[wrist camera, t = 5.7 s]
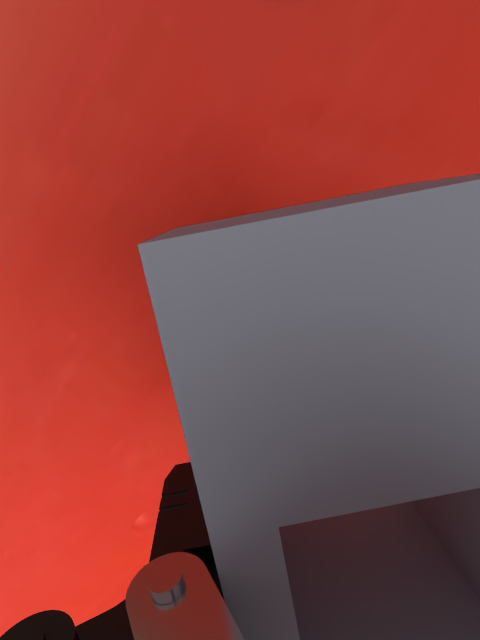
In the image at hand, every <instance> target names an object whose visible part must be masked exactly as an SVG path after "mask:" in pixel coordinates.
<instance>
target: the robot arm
mask: <svg viewBox="0 0 480 640" xmlns="http://www.w3.org/2000/svg"><path fill="white" fill-rule="evenodd" d="M159 509H160V512H159V513H158V518H157V524H156V529H155V534H154V540H153V545H152V550H151V556H150V561H149V563H148V564H147V565H145V566H144V567H143V568H142V569H141V570H140V571H139V572H138V573H137V574H136V575H135V577H134V578H133V580H132V581H131V583H130V585H129V587H128V590H127V594H126V599H125V600H124V601H122V602H121V603H120V604H118V605H117V606H115V607H113V608H112V609H110V610H108V611H106V612H104V613H102V614H100V615H98V616H96V617H94V618H92V619H90V620H88V621H86V622H84V623H82V624H80V625H78V626H76V627H75V625H74V623H73V620H72V618H71V617H70V616H69V615H68V614H66V613H65V612H62V611H59V610H48V611H43V612H39V613H36V614H34V615H31V616H29V617H27V618H25V619H23V620H22V621H20V622H19V623H17V624H16V625H14V626H13V627H12V628H10V629H9V630H8V631H7V632H6V633H4V634H3V635H2V636H1V637H0V640H245V639H244V637H243V635H242V633H241V631H240V630H239V628H238V626H237V624H236V622H235V620H234V618H233V616H232V615H231V613H230V611H229V609H228V607H227V605H226V603H225V600H224V596H223V592H222V588H221V584H220V580H219V576H218V572H217V568H216V564H215V560H214V555H213V551H212V547H211V543H210V539H209V535H208V531H207V527H206V523H205V519H204V515H203V511H202V506H201V502H200V498H199V494H198V490H197V486H196V482H195V478H194V474H193V470H192V466H191V462H188V463H183V464H178V465H175V466H174V468H173V469H172V470H171V472H170V473H169V475H168V476H167V477H166V479H165V481H164V486H163V492H162V498H161V502H160V508H159Z"/></svg>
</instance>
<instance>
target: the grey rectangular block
mask: <svg viewBox="0 0 480 640" xmlns="http://www.w3.org/2000/svg"><path fill="white" fill-rule="evenodd" d="M137 245H138V249H139V253H140V257H141V261H142V265H143V269H144V273H145V277H146V282H147V286H148V290H149V294H150V298H151V302H152V306H153V310H154V314H155V318H156V322H157V327H158V331H159V335H160V339H161V343H162V347H163V351H164V355H165V359H166V363H167V367H168V371H169V376H170V380H171V384H172V388H173V392H174V396H175V400H176V404H177V408H178V412H179V416H180V421H181V425H182V429H183V433H184V437H185V441H186V445H187V449H188V453H189V457H190V461H191V466H192V470H193V474H194V478H195V482H196V486H197V490H198V494H199V498H200V502H201V506H202V511H203V515H204V519H205V523H206V527H207V531H208V535H209V539H210V543H211V547H212V551H213V555H214V560H215V564H216V568H217V572H218V576H219V580H220V584H221V588H222V592H223V596H224V600H225V603H226V605H227V607H228V609H229V611H230V613H231V615H232V616H233V618H234V620H235V622H236V624H237V626H238V628H239V630H240V631H241V633H242V635H243V637H244V639H245V640H480V174H474V175H467V176H460V177H453V178H446V179H439V180H432V181H425V182H418V183H411V184H405V185H400V186H394V187H389V188H384V189H379V190H373V191H368V192H363V193H358V194H352V195H347V196H342V197H336V198H331V199H326V200H321V201H315V202H310V203H305V204H300V205H294V206H289V207H284V208H279V209H273V210H268V211H263V212H258V213H252V214H247V215H242V216H237V217H231V218H226V219H221V220H215V221H210V222H205V223H200V224H194V225H189V226H184V227H179V228H175V229H173V230H170V231H168V232H166V233H163V234H161V235H159V236H156V237H154V238H151V239H149V240H147V241H144V242H142V243H140V244H137Z"/></svg>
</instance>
